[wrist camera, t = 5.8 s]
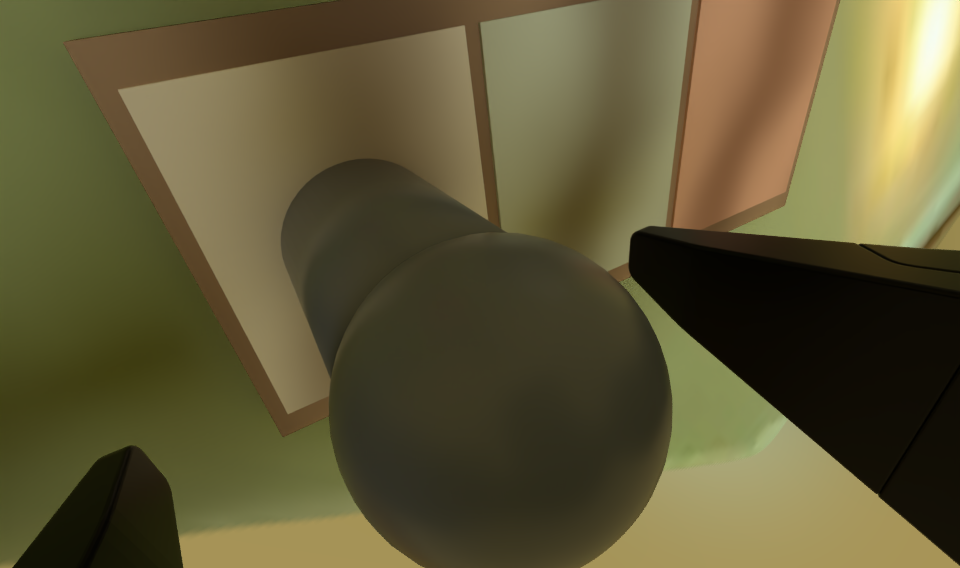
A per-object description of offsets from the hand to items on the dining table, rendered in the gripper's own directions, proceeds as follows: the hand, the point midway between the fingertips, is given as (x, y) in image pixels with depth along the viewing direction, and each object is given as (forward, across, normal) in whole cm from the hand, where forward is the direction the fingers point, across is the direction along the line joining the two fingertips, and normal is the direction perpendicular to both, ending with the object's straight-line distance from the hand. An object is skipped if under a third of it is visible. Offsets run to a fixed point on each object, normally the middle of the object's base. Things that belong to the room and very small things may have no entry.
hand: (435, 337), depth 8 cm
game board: (+6, -7, 0) cm, 9 cm away
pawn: (+4, 0, 0) cm, 4 cm away
